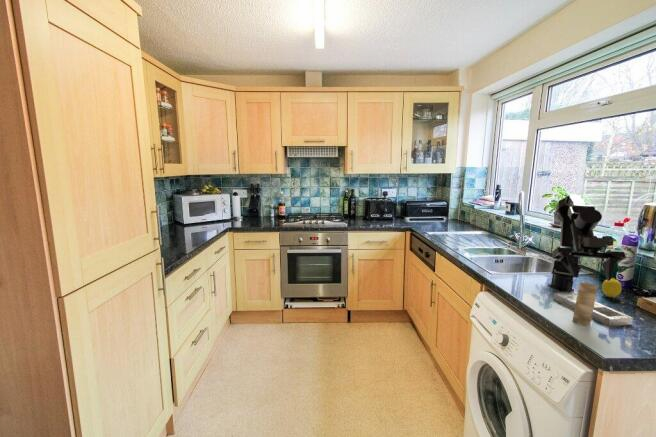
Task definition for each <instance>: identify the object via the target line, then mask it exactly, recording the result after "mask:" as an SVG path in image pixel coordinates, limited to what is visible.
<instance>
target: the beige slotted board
mask: <svg viewBox="0 0 656 437" xmlns="http://www.w3.org/2000/svg"><path fill="white" fill-rule="evenodd" d="M577 294H578V292H577V293H576V292H574V291H568V292H555V293H553V298H552V300H553V301H555V302H558V303H560V304H562V305H563V306H566V307H568V308H569V309H571V310H575V305H576V299H577ZM592 319H593V320H595V321H597V322H599V323H601V324H603V325H604V326H607V327H619V326H621V327H622V326H630V325H632V323H633V319H634V317H632V316H630V315H628V314H626V313H624V312H620V311H618V310H616V309H614V308H612V307H609V306H606V305H605V304H602V303H600V302H598V301H595V303H594V308H593V313H592V318H591V320H592Z"/></svg>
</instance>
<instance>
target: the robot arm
mask: <svg viewBox="0 0 656 437" xmlns="http://www.w3.org/2000/svg"><path fill="white" fill-rule="evenodd" d="M595 206H596V205H594V204H590V203H589V204H588V203H586V202H585V201H584V199H583V196H582V195H579V194H566V196H565V197H564V198H562V199H559V200H558V202H557V204H556V207H555V213H556V218H557V219H558V220H559V221H560V241H559V242H560V243H559V246H557V248H555V249H554V250H553V251H552V253H551V256H552V263H551V265H550V269H549V271H550V274H551V275H552V277H551V282H550V283H548V284H547V286H548V287H550V288H553V289H555V290H556V291H557V290H558V291H559V292H574V291H575V289H574V288H573V285H574V278H575V279H577V278H578V277H579V274H580V272H581V269H582V267H581V264H580V263H579V258H580V257H581V258H592V259H601V261H602V263H601V266H602V269H603V272H604V276H605V278H606V279H605V280H607V281H610V280H611V279H612V278H613V272H614V268H615V266H616V264H618V263H620V262H622V261H624V260H626V259H627V255H626V253H625V251H623V250H620V249H608V250H606V251H605V252H601V251H602V250H603V248H604V249H607V248H608V247H612V246H613V245H614V238H613V236H612V235H603V236H602V237H598V236H597V235H594V230H595V228H596V227H597V226H598V224H599V223H600V222H601V220H602V218H603V215H602V213H601V212H600V211H599V210H598V209H597V208H596V207H595ZM574 249H575V250H574Z"/></svg>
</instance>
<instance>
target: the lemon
mask: <svg viewBox="0 0 656 437" xmlns="http://www.w3.org/2000/svg"><path fill="white" fill-rule="evenodd" d="M622 288H623V287H622V283H621V282H620V281H619V280H618V279H615V277H611V280H610V281H607V279H605V280H603V283H602V285H601V290H602V292H603V294H605V295H606V296H607V297H608V298H613V297H617V296H619V295H620V294H621V292H622Z"/></svg>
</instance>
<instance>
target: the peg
mask: <svg viewBox="0 0 656 437" xmlns="http://www.w3.org/2000/svg"><path fill="white" fill-rule="evenodd" d="M597 292H598V285H596V284H593V283H591V282H584V281H583V282H582V281H581V282H579V285H578V290H577V299H576V305H575V310H574V309H573V310H574V311H573V315H572V322H573V323H575V322H576V324H577V323H578V325H580V324H581V325H580V326H585V327H589V326H591V322H592V313H593V308H594V303H595V302H596V297H597Z"/></svg>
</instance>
